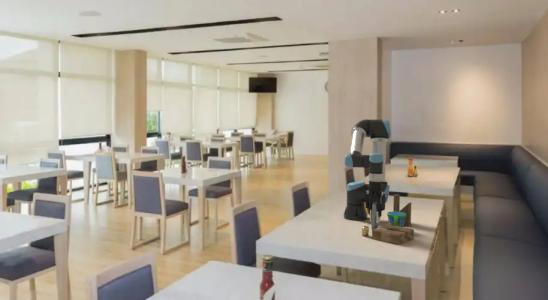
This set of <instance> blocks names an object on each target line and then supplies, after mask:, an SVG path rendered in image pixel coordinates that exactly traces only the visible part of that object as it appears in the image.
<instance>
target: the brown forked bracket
mask: <svg viewBox="0 0 548 300" xmlns="http://www.w3.org/2000/svg"><path fill="white" fill-rule="evenodd" d="M400 200H401V195H400V194H397V193H396V194H395V193H394V194H393V206H392V207H393V211H396V212H403V213H406V217H405V222H404V226H406V227H410V226H411V225H412V224H411V223H412V202H408V203H407V204H406V205H405V206H403V208H401V209H400V202H401V201H400Z"/></svg>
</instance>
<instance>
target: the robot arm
mask: <svg viewBox="0 0 548 300" xmlns="http://www.w3.org/2000/svg"><path fill="white" fill-rule="evenodd" d="M350 136H351V141H350V146H349V147H350V148H349V152H348V154H347V153H346V154H345V155H344V166H345V167H346V168H365V169H367V168H368V170H369V171H368V180H369V181H368V183H366V181H360V180H359V181H353V182H349V183H347V185H346V207H345V210H344V212H343V218H344V219H346V220H351V221H364V220H367V219H368V216H369V222H371V223H372V203H377V207H378V211H377V219H376V223H378V224H379V223H380V222H381V218H382V213H383V211H385V210H386V203H388V199H389V192H390V187H391V185H390V184H388V181H387V180H386V167H387V165H386V161H387V157H386V155H387V142H388V141H389V139H390V138H391V137H392V132H391V124H390V120H389V119H382V118H381V119H369V118H367V119H363V120H360V121H358V122H356V123H355V124H354V126H353V127H352V128H351V132H350ZM365 138H370V141H371V142H372V147H371V149H372V151H371V153H369V154H363V148H364V142H365ZM366 209H367V210H368V211H367V210H366Z"/></svg>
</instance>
